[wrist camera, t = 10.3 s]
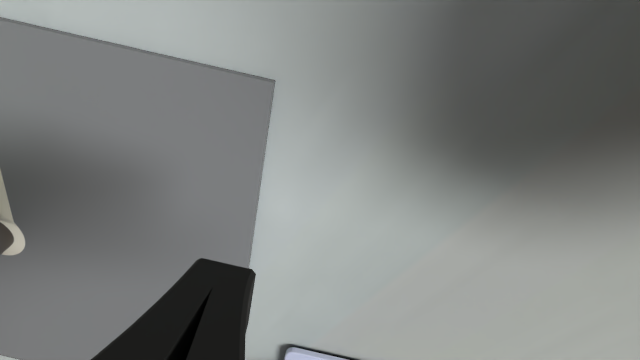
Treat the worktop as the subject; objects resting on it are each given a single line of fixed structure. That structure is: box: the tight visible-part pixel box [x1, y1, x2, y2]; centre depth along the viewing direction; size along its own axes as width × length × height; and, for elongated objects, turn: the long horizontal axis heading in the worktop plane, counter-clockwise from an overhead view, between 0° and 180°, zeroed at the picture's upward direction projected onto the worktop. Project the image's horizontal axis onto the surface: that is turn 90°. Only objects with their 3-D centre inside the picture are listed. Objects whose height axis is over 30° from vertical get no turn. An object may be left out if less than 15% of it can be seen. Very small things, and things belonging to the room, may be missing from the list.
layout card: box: [0, 17, 275, 360], centre depth 23 cm, size 25×27×1 cm
